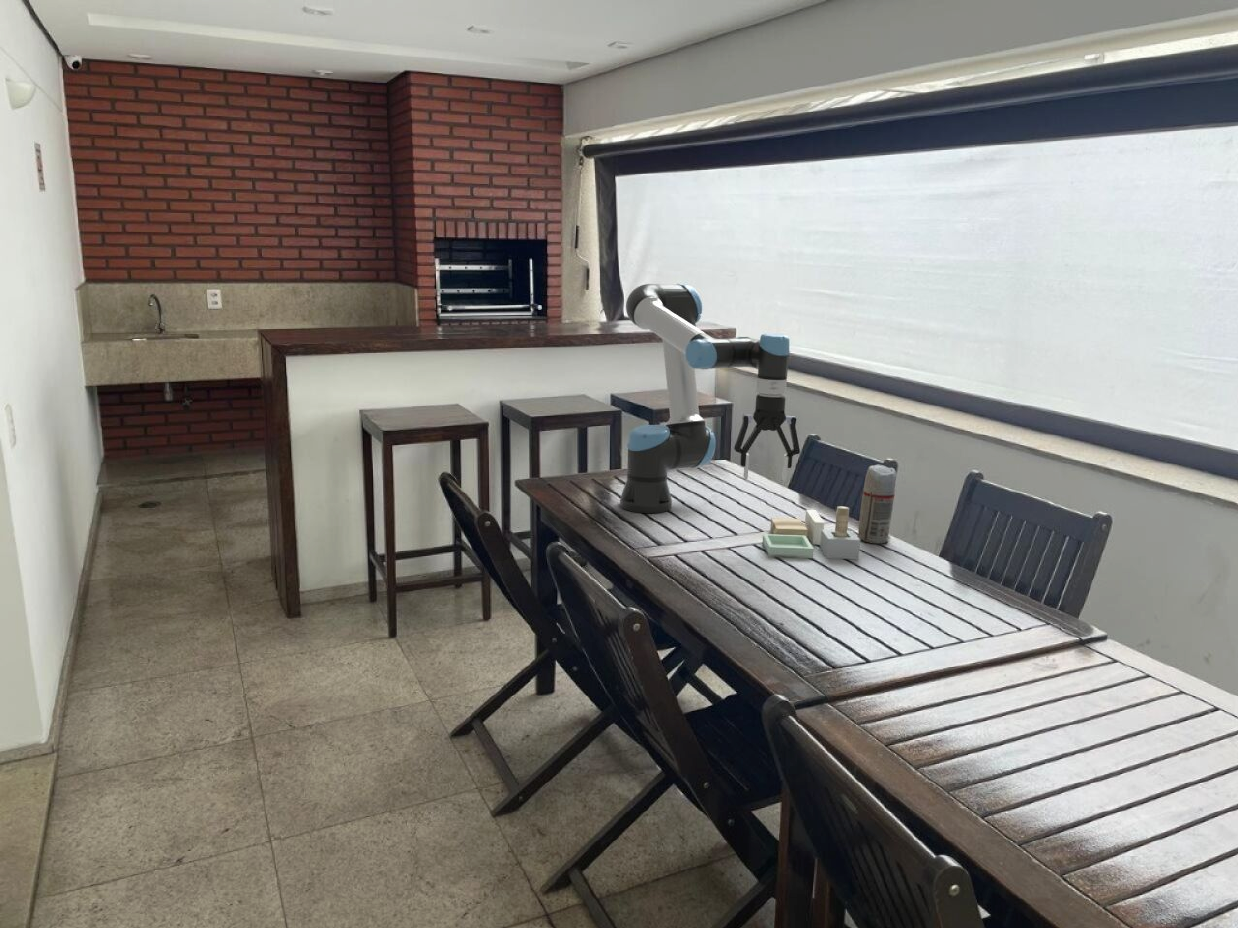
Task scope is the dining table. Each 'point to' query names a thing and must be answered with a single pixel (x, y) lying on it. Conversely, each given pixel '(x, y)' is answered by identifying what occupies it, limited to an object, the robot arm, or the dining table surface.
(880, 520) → the spray can
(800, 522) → the grooved wooden block
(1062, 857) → the dining table surface
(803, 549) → the tray
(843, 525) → the dowel
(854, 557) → the socket block
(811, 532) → the block
